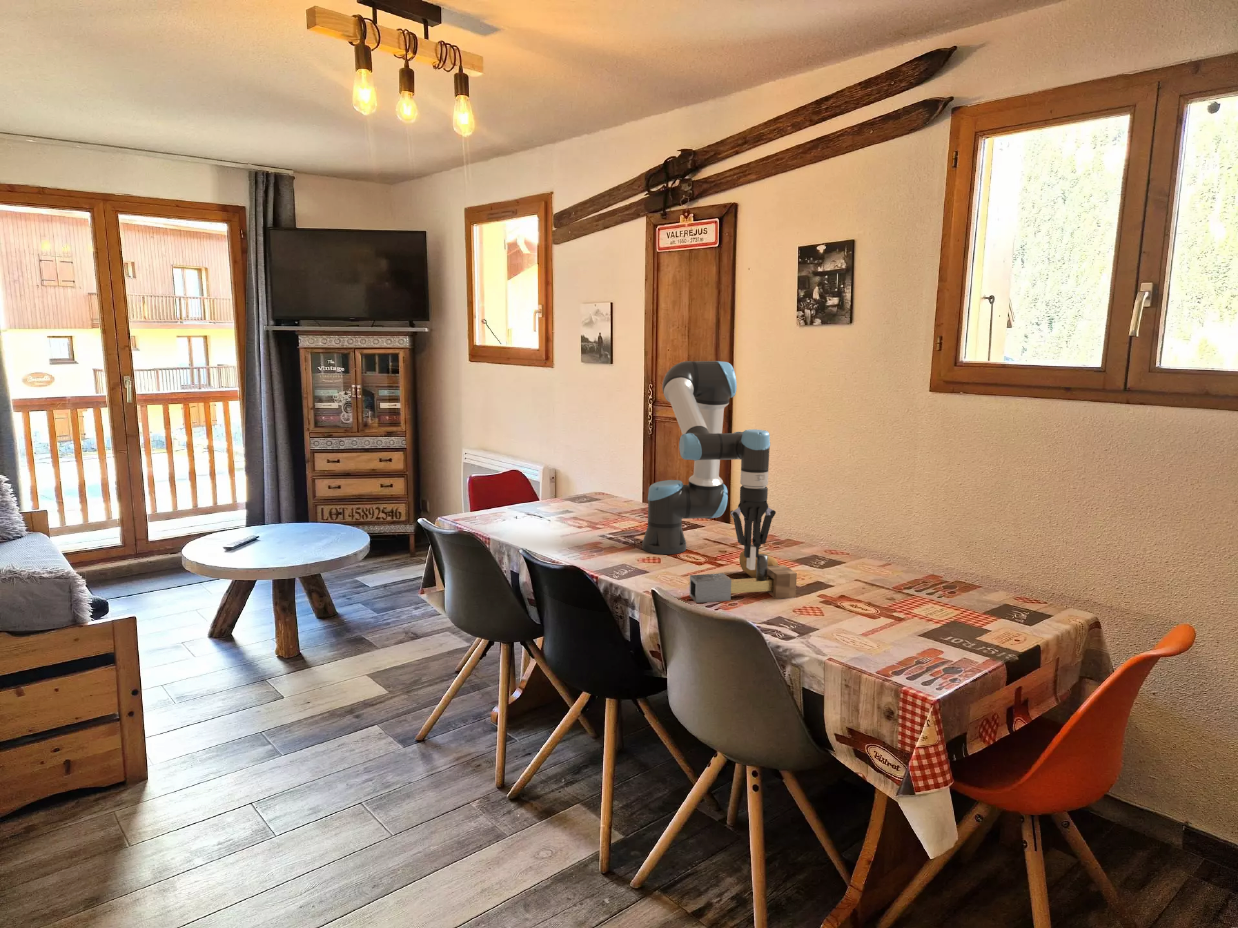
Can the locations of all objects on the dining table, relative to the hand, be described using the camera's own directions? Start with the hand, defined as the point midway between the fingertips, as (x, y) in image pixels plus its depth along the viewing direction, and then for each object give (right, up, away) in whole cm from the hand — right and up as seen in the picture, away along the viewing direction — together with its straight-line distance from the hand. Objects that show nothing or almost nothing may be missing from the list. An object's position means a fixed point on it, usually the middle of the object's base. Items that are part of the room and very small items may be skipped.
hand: (750, 568), depth 217 cm
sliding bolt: (0, -6, +1) cm, 6 cm away
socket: (+9, -8, +3) cm, 12 cm away
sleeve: (-12, -8, -1) cm, 14 cm away
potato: (+5, -5, +18) cm, 19 cm away
